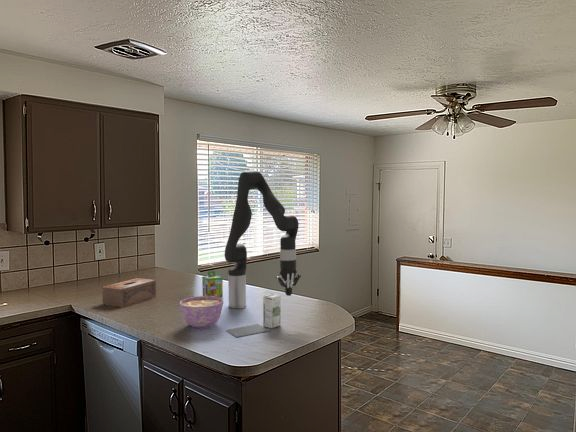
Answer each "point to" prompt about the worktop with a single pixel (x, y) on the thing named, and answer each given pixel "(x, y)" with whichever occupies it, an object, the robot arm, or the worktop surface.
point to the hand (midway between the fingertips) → (288, 295)
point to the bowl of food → (201, 310)
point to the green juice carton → (212, 285)
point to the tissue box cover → (129, 292)
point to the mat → (247, 330)
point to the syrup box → (271, 310)
